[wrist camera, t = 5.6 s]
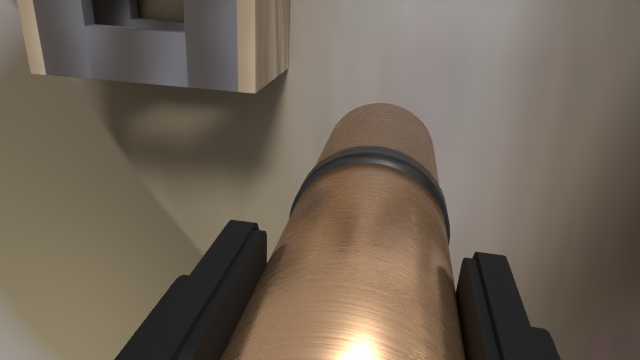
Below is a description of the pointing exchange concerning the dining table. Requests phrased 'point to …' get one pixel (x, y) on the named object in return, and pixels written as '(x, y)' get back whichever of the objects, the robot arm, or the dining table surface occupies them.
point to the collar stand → (160, 42)
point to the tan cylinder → (360, 254)
